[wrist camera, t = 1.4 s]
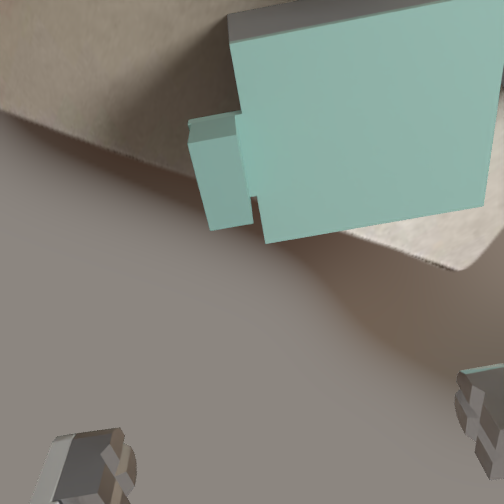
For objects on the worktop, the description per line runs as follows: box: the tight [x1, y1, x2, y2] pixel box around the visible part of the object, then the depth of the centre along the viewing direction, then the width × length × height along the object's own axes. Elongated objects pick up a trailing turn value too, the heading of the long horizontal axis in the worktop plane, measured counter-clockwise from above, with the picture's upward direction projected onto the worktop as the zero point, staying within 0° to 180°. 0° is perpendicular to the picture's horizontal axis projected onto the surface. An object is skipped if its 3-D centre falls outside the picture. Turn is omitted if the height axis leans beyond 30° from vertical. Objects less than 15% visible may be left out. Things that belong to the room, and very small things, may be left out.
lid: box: [187, 0, 504, 244], centre depth 24 cm, size 12×17×4 cm
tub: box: [227, 0, 440, 42], centre depth 31 cm, size 12×14×14 cm
